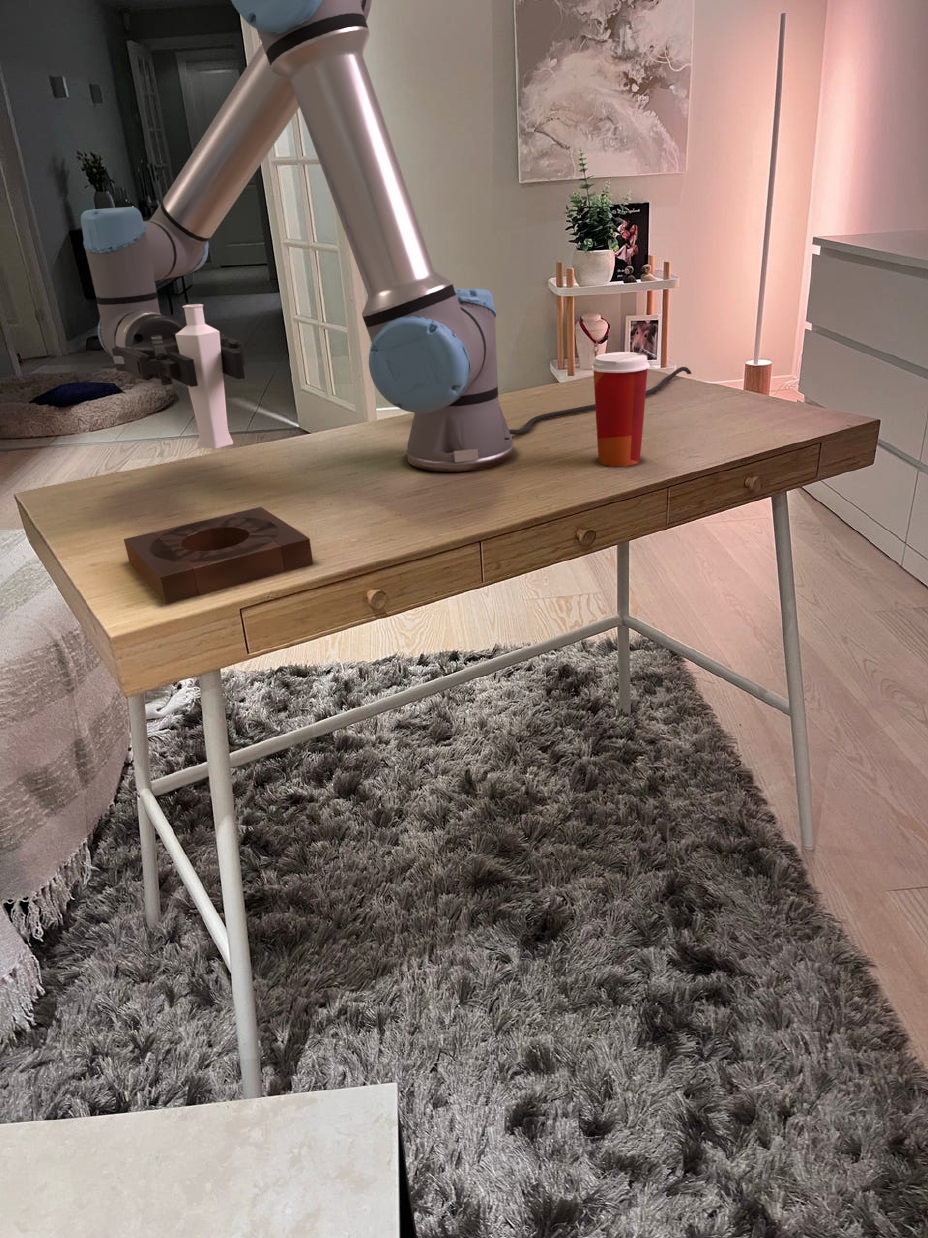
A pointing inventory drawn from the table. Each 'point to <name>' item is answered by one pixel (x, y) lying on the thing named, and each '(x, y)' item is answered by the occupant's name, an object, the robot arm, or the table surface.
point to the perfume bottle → (205, 377)
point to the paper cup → (620, 406)
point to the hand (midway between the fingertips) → (216, 369)
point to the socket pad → (217, 553)
